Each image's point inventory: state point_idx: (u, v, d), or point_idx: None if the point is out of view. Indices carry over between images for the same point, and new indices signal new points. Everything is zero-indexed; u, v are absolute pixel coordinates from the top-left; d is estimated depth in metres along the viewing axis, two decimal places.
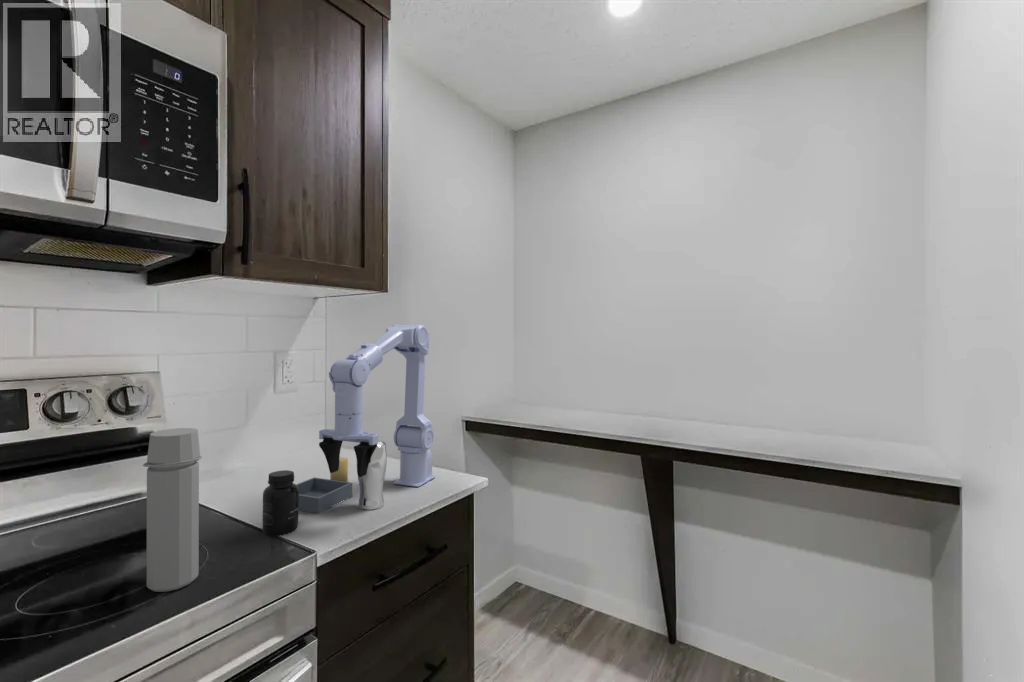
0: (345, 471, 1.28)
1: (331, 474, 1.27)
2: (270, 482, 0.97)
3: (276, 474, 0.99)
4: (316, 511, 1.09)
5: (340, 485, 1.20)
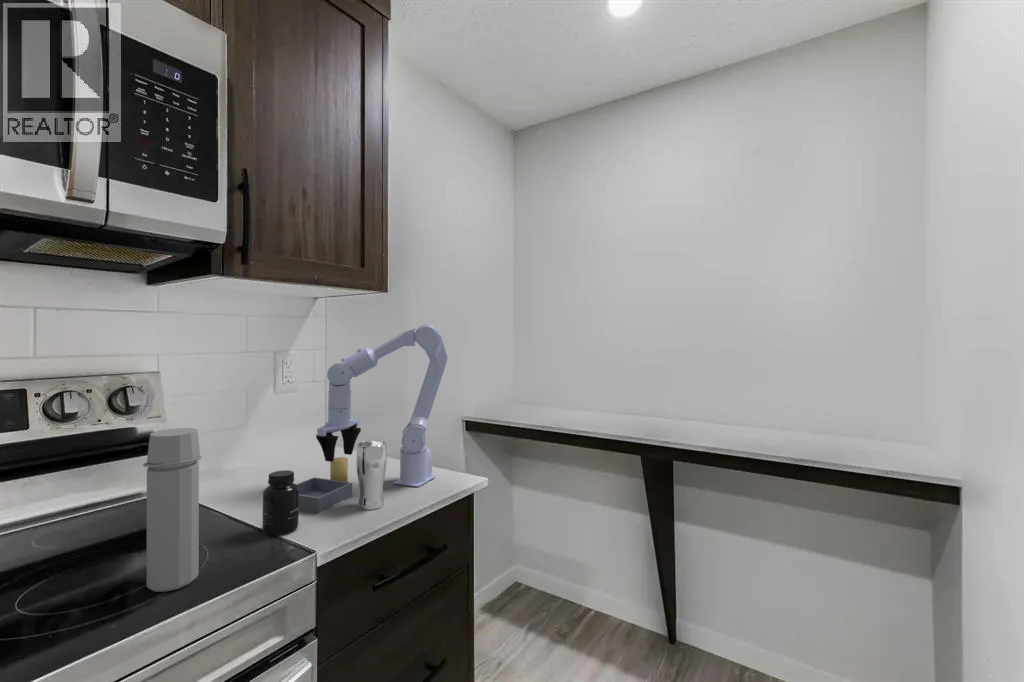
0: (345, 471, 1.28)
1: (331, 474, 1.27)
2: (270, 482, 0.97)
3: (276, 474, 0.99)
4: (316, 511, 1.09)
5: (340, 485, 1.20)
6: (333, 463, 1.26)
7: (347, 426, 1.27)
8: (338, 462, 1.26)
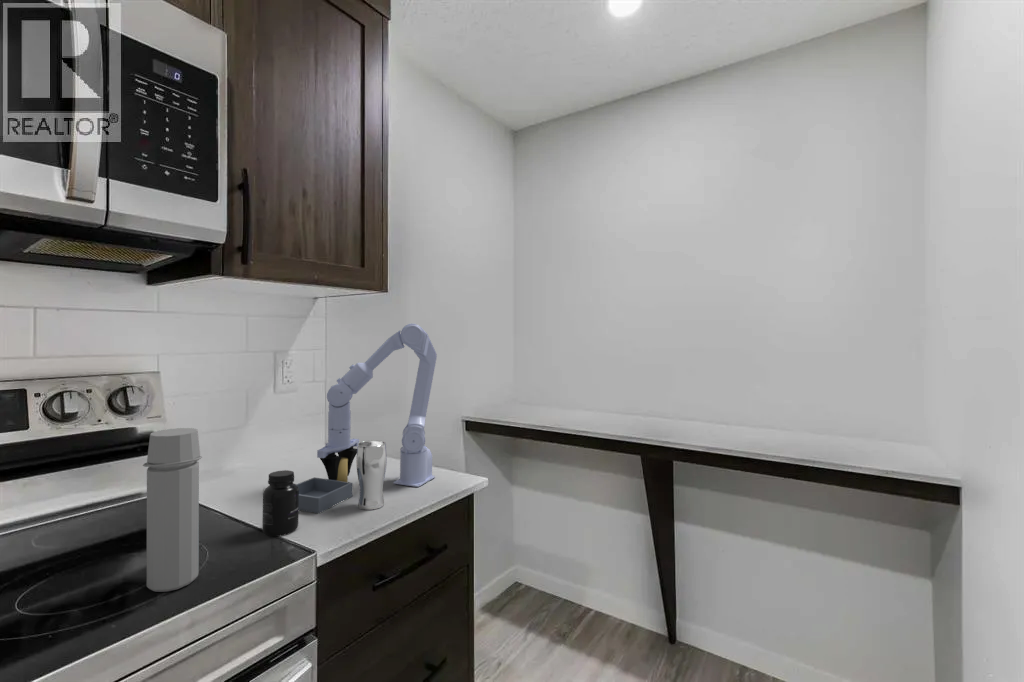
0: (345, 471, 1.28)
1: None
2: (270, 482, 0.97)
3: (276, 474, 0.99)
4: (316, 511, 1.09)
5: (340, 485, 1.20)
6: None
7: (347, 447, 1.27)
8: None
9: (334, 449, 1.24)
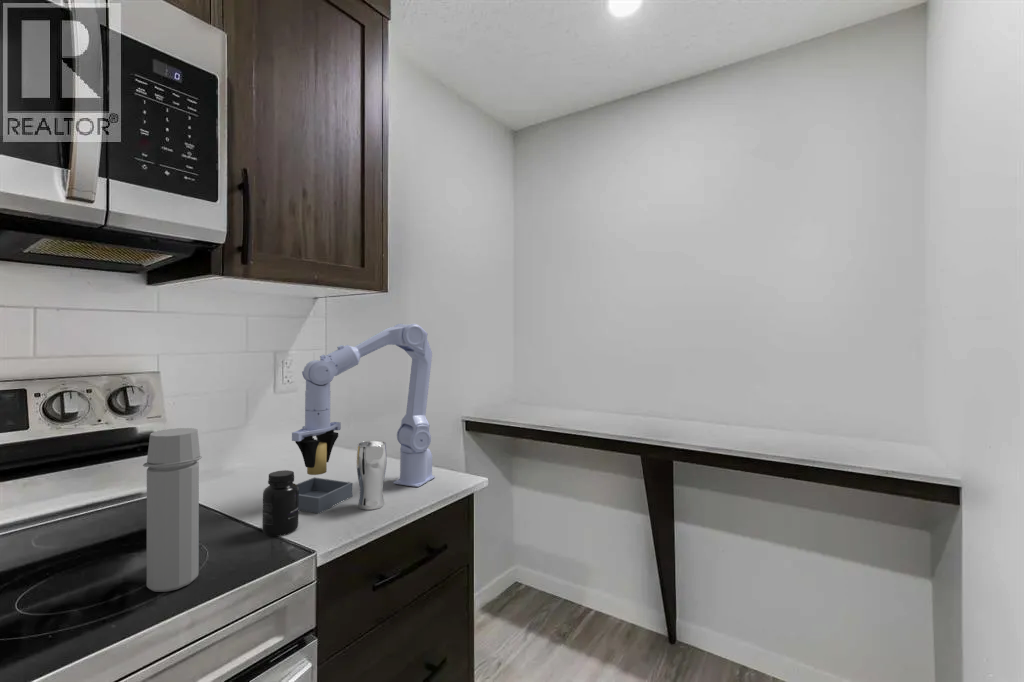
0: (323, 456, 1.16)
1: None
2: (270, 482, 0.97)
3: (276, 474, 0.99)
4: (316, 511, 1.09)
5: (340, 485, 1.20)
6: None
7: (326, 430, 1.15)
8: None
9: (311, 432, 1.12)
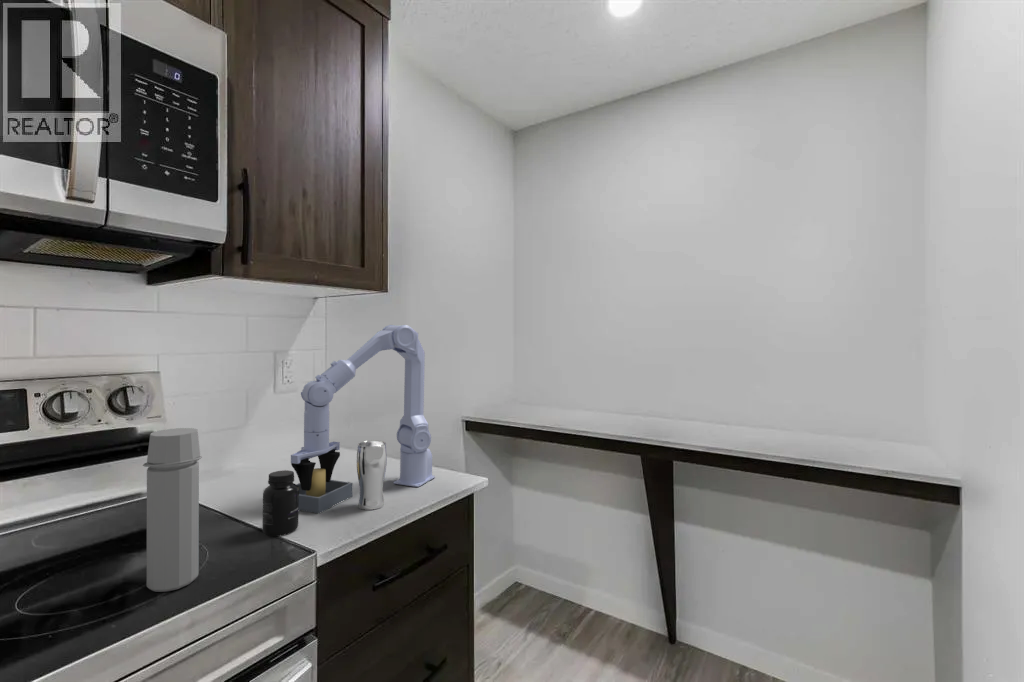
0: (322, 484, 1.15)
1: None
2: (270, 482, 0.97)
3: (276, 474, 0.99)
4: (316, 511, 1.09)
5: (340, 485, 1.20)
6: None
7: (325, 451, 1.15)
8: (314, 474, 1.14)
9: (310, 454, 1.12)
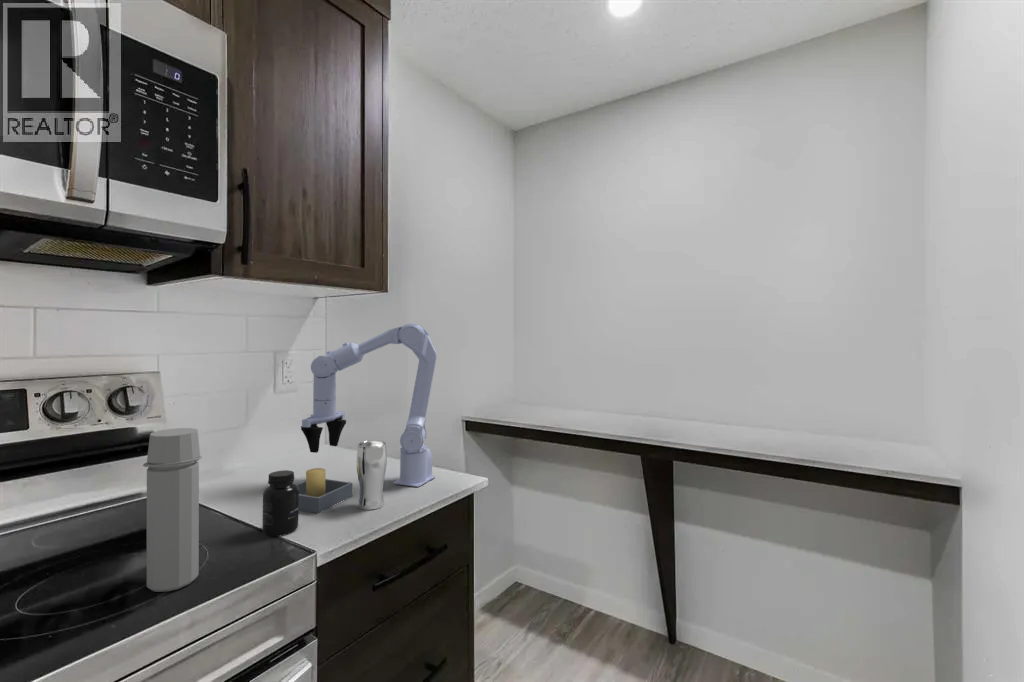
0: (322, 483, 1.15)
1: (307, 487, 1.15)
2: (270, 482, 0.97)
3: (276, 474, 0.99)
4: (316, 511, 1.09)
5: (340, 485, 1.20)
6: (309, 475, 1.14)
7: (332, 418, 1.28)
8: (314, 474, 1.14)
9: (319, 419, 1.25)
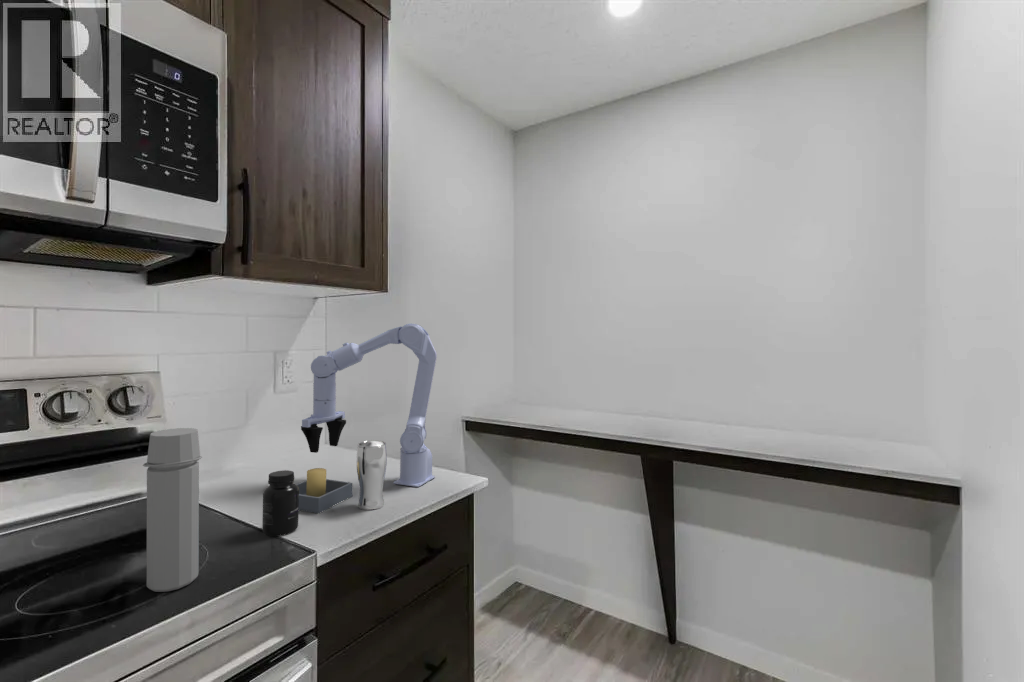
0: (323, 484, 1.15)
1: (307, 487, 1.15)
2: (270, 482, 0.97)
3: (276, 474, 0.99)
4: (316, 511, 1.09)
5: (340, 485, 1.20)
6: (310, 475, 1.14)
7: (332, 418, 1.28)
8: (315, 474, 1.14)
9: (319, 419, 1.25)
